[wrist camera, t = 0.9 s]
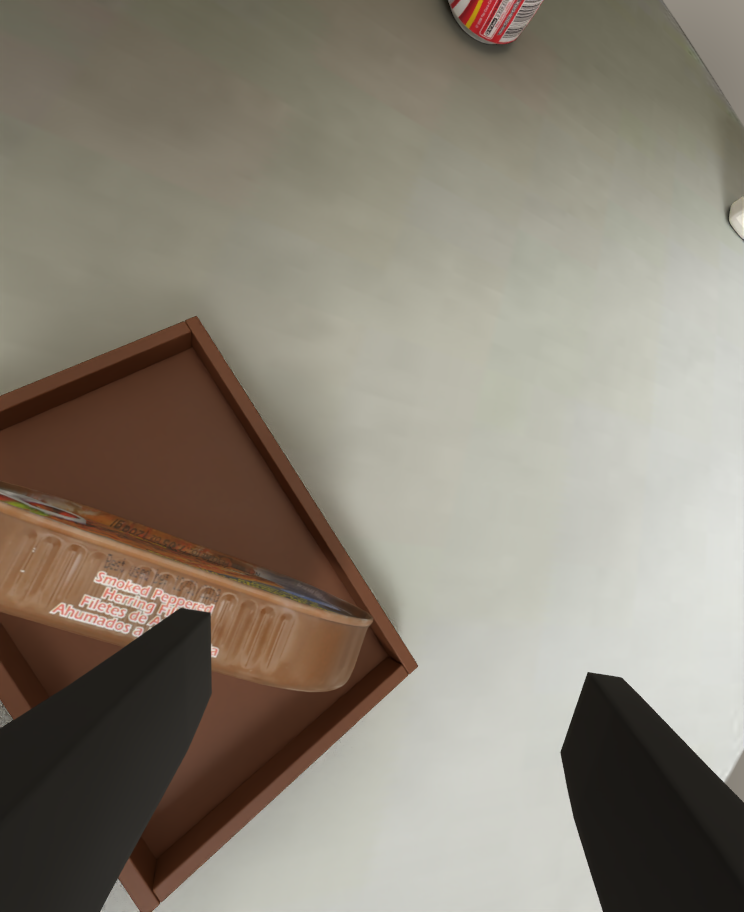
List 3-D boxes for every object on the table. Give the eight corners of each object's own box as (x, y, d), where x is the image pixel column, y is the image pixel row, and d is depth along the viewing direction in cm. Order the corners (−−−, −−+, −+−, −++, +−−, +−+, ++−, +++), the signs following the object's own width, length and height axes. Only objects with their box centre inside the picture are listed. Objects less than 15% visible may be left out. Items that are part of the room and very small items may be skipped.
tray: (151, 877, 18) (144, 919, 16) (-117, 469, 18) (-159, 459, 16) (400, 655, 23) (418, 666, 21) (197, 335, 23) (196, 315, 21)
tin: (342, 595, 22) (414, 621, 14) (319, 661, 21) (384, 726, 14) (12, 478, 19) (-128, 429, 11) (-33, 552, 18) (-221, 556, 10)
